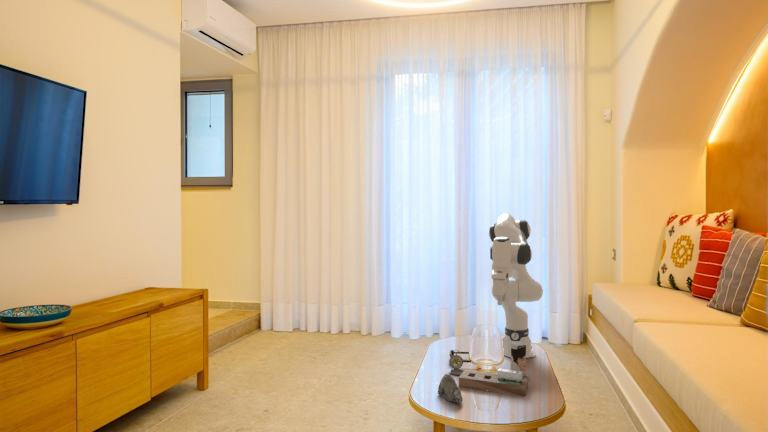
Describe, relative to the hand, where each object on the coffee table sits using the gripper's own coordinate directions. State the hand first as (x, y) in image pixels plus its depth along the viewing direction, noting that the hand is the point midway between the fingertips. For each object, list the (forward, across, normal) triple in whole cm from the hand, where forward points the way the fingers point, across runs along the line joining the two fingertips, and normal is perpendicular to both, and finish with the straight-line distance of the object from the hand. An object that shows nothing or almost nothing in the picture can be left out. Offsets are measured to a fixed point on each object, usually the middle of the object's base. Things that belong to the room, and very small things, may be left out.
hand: (501, 302), depth 226 cm
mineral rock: (+34, +34, -15) cm, 51 cm away
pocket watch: (+34, +2, -20) cm, 40 cm away
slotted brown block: (+34, +14, -1) cm, 37 cm away
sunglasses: (+35, -13, -20) cm, 42 cm away
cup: (+34, -5, +7) cm, 35 cm away
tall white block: (+34, +14, +6) cm, 37 cm away
